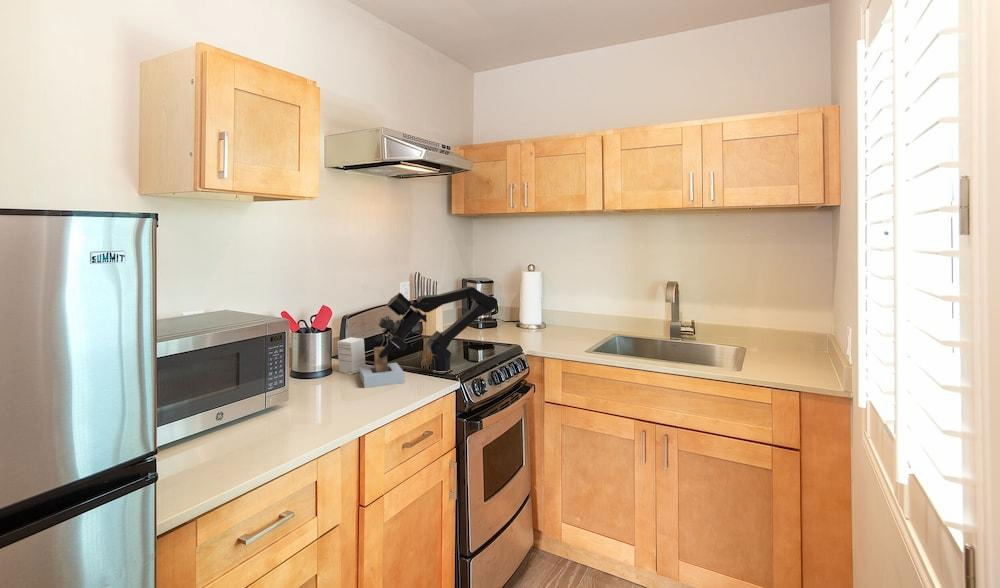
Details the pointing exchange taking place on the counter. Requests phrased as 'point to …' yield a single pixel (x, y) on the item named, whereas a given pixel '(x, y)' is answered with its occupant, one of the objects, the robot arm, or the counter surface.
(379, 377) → the well block
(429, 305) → the robot arm
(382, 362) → the walnut post
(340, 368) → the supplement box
